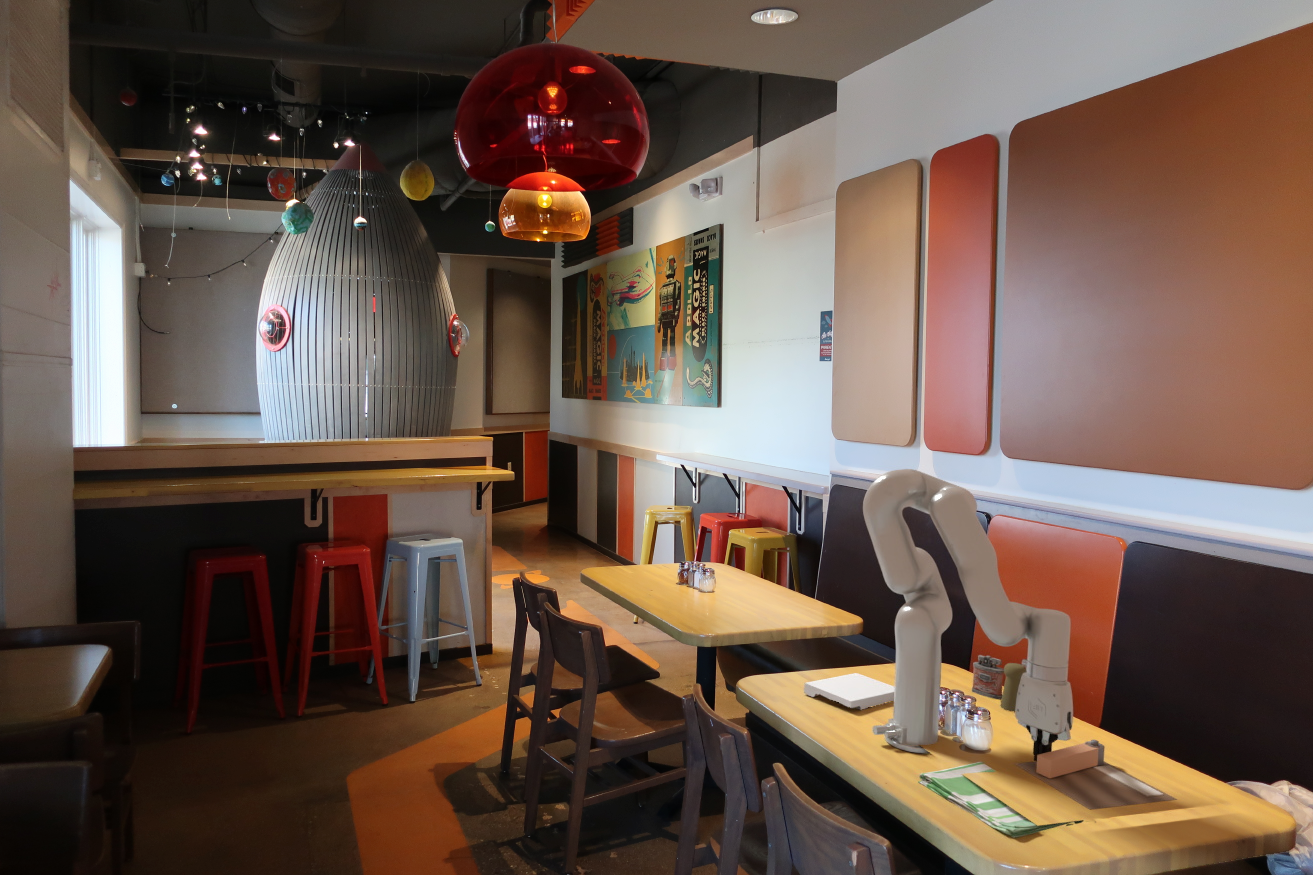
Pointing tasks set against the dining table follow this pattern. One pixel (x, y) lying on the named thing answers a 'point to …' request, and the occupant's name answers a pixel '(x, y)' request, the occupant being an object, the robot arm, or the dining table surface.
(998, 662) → the lighter
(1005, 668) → the olive pepper mill
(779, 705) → the dining table surface
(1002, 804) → the dish towel
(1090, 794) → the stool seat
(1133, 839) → the dining table surface
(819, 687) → the white flat block
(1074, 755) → the folding leg
